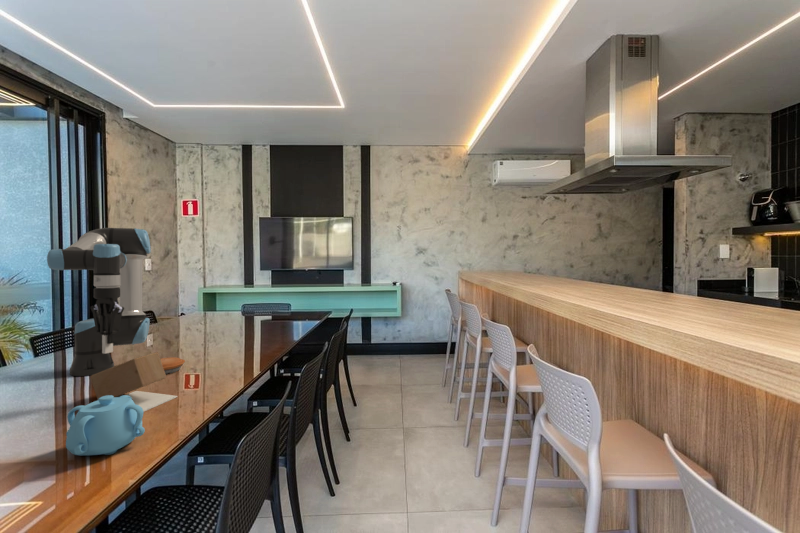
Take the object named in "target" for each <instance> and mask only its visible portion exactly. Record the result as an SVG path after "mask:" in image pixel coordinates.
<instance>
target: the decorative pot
mask: <svg viewBox="0 0 800 533" xmlns="http://www.w3.org/2000/svg"><path fill="white" fill-rule="evenodd" d="M76 411H77V413H75V412H76ZM143 417H144V412H143V409H142V407H140V406H139V405H136V404H135V403H134V401H133V400H132V398H131V397H130V396H128V395H126V394H122V395H120V396H117V397H114V396H112V395H107V396H103V397H100V398H99V399H96V400H94V401H93V402H92V401H91V402H90V403H88V404H86V405H82V404H81V405H77V406H74V407H73V408H71V409H70V410H68V413H67V421H68V424H69V428H68V430H67V431H66V432H65V433H66V440H65V448H66V449H67V451H68V452H70V453H71V454H72V455H74V456H98V455H99V456H100V455H105V456H108V455H113V454H115V453H117V452H118V450H120V449H121V448H124V447H126V446H127V445H128V444H130V443H131V442H133V441H134V440H135V438H138V437H141V436H143V435H144V433H145V431H146V430H145V427H144V426H143Z"/></svg>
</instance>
